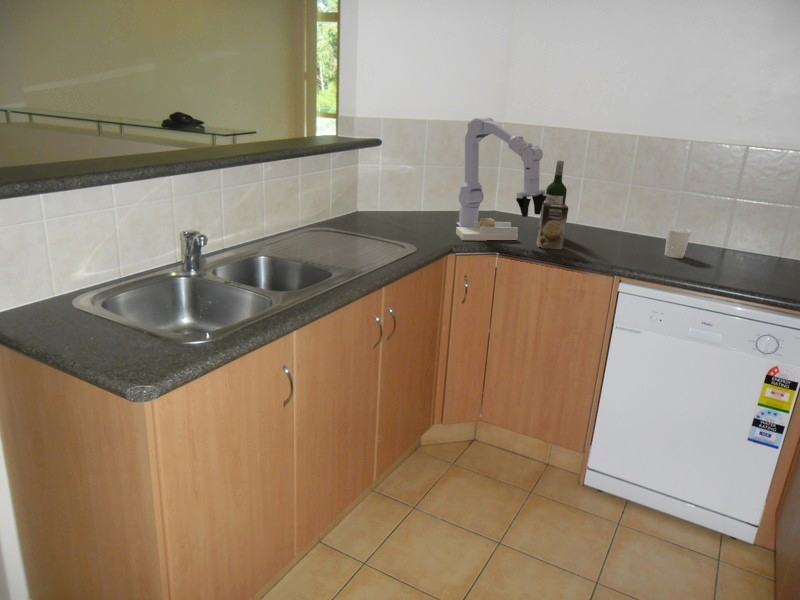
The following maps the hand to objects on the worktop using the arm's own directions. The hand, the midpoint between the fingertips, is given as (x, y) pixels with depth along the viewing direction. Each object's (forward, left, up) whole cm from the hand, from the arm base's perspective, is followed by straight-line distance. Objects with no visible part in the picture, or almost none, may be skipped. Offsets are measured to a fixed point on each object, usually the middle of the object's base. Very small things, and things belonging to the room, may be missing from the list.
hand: (531, 215), depth 244 cm
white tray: (-6, -15, -10) cm, 19 cm away
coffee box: (+7, +6, -11) cm, 14 cm away
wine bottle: (-10, +13, -11) cm, 19 cm away
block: (-6, -15, -8) cm, 18 cm away
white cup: (+18, +51, -11) cm, 55 cm away
